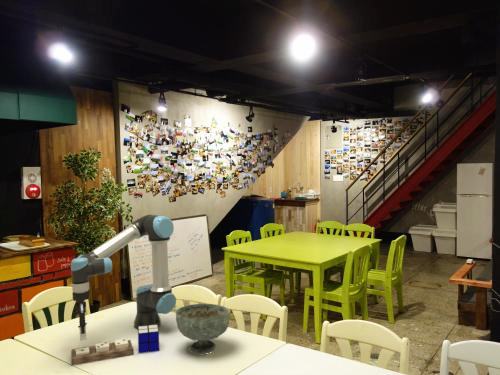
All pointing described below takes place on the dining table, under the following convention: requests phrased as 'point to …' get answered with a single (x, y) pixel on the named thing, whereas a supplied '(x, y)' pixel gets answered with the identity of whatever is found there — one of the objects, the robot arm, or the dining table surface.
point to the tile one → (82, 351)
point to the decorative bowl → (202, 325)
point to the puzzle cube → (148, 338)
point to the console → (101, 354)
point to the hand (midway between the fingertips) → (83, 339)
